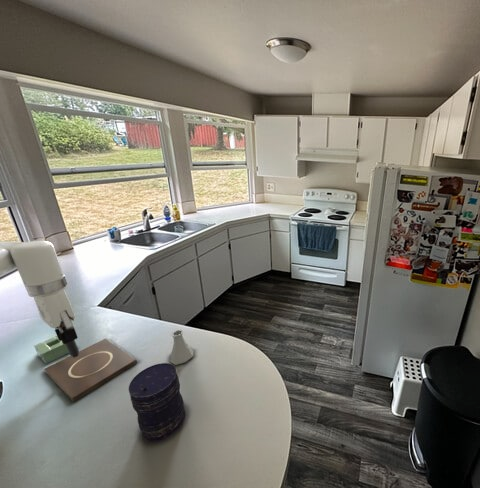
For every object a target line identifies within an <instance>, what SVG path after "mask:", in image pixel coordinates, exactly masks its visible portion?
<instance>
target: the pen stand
mask: <svg viewBox="0 0 480 488" xmlns="http://www.w3.org/2000/svg"><path fill="white" fill-rule="evenodd" d="M33 348H34V349H35V352H36V354H37V356H38V357H39V358H40V359H41V360H42V361H43V362H44V363H45V364H46V365H47V364H48V363H51V362H53V361H55V360H57V359H59V358H61V357H64V356H65V355H67V354H70V353H69V351H68V349H67V346H66V344H63V343H62V341H60V340H59V339H58V337H57V335H56V336H54V337H51V338H49V339H47V340H44V341H41V342H39V343H37V344H35V345H33Z"/></svg>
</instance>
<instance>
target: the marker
mask: <svg viewBox="0 0 480 488" xmlns="http://www.w3.org/2000/svg"><path fill="white" fill-rule="evenodd" d="M61 326H64V325H61ZM66 346H67V349H68V351H69V353H68V354H69V356H72V357H77V356H78V355H79V354H78V353H79V351H80V350H79V347H78V345H77V343H76V339H75V340H73V341H71V342H69V343H66Z"/></svg>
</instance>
